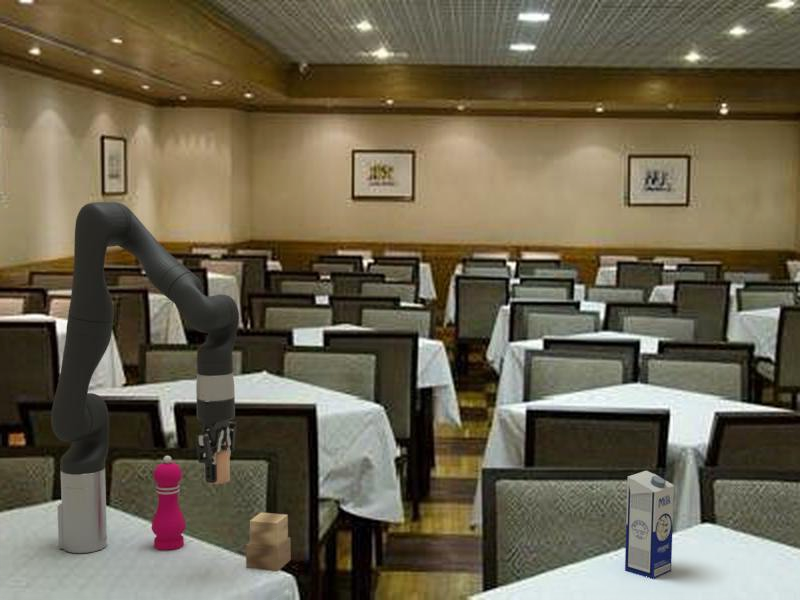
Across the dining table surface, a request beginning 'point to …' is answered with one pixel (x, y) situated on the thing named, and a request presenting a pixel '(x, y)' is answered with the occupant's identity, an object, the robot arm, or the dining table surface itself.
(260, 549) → the tower base
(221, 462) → the rounded stamp handle
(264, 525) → the tower top
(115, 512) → the dining table surface
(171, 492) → the pepper mill
